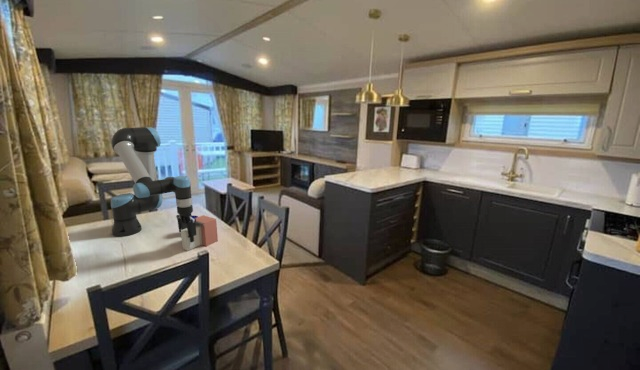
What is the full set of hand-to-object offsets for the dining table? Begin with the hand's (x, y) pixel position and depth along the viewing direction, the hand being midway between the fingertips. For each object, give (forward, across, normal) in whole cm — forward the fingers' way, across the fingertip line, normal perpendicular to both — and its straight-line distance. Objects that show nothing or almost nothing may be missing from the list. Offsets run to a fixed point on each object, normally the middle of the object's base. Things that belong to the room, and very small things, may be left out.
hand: (189, 245), depth 152 cm
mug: (+2, -15, +15) cm, 21 cm away
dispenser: (+2, 0, +11) cm, 11 cm away
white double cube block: (+2, 0, +5) cm, 5 cm away
